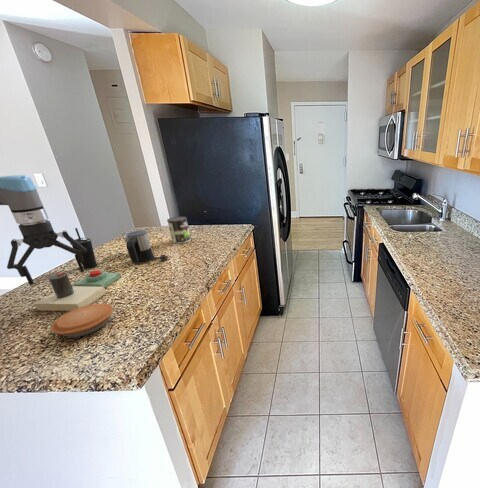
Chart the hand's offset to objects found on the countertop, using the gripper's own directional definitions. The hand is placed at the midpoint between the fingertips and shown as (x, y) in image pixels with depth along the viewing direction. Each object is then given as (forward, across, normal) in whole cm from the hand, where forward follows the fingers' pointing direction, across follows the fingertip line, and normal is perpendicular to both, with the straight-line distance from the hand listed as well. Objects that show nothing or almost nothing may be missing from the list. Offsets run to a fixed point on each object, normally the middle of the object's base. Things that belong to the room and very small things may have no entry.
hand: (58, 276), depth 96 cm
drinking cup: (+11, +8, +33) cm, 35 cm away
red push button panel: (+11, +10, +10) cm, 18 cm away
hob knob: (+8, 0, 0) cm, 8 cm away
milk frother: (+11, +32, +20) cm, 39 cm away
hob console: (+11, +1, -1) cm, 11 cm away
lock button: (+7, +10, +10) cm, 16 cm away
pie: (+11, +4, -24) cm, 27 cm away
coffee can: (+11, +52, +40) cm, 67 cm away
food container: (+11, +28, +36) cm, 47 cm away
